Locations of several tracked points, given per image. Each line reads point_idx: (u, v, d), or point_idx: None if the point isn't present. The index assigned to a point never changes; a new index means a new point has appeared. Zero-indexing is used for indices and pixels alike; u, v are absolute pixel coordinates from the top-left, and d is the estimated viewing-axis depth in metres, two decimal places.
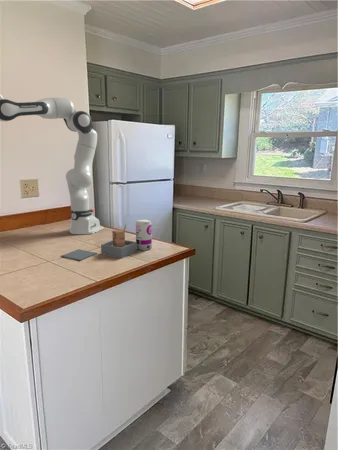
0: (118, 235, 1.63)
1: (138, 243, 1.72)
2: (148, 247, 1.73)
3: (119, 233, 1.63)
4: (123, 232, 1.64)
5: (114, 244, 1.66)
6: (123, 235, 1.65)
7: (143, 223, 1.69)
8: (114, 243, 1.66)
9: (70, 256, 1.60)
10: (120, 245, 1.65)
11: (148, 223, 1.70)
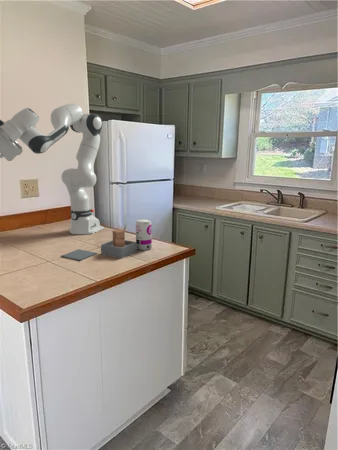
0: (118, 235, 1.63)
1: (138, 243, 1.72)
2: (148, 247, 1.73)
3: (119, 233, 1.63)
4: (123, 232, 1.64)
5: (114, 244, 1.66)
6: (123, 235, 1.65)
7: (143, 223, 1.69)
8: (114, 243, 1.66)
9: (70, 256, 1.60)
10: (120, 245, 1.65)
11: (148, 223, 1.70)
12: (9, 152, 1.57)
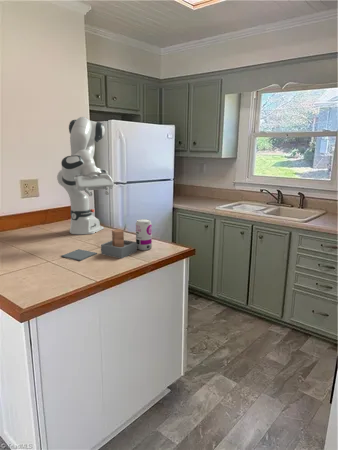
0: (117, 235, 1.63)
1: (138, 243, 1.72)
2: (148, 247, 1.73)
3: (118, 233, 1.63)
4: (122, 232, 1.64)
5: (113, 244, 1.66)
6: (122, 235, 1.65)
7: (143, 223, 1.69)
8: (113, 243, 1.66)
9: (70, 256, 1.60)
10: (119, 245, 1.65)
11: (148, 223, 1.70)
12: None
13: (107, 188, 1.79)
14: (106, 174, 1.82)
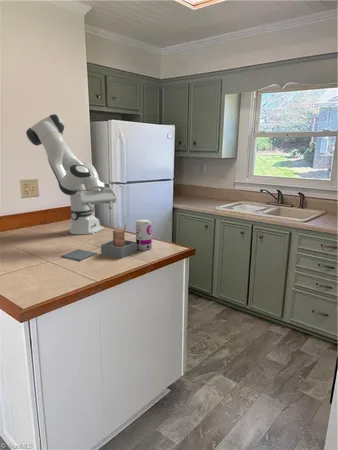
0: (118, 235, 1.63)
1: (138, 243, 1.72)
2: (148, 247, 1.73)
3: (119, 233, 1.63)
4: (123, 232, 1.64)
5: (114, 244, 1.66)
6: (123, 235, 1.65)
7: (143, 223, 1.69)
8: (114, 243, 1.66)
9: (70, 256, 1.60)
10: (119, 245, 1.65)
11: (148, 223, 1.70)
12: None
13: (110, 202, 1.77)
14: (109, 188, 1.80)
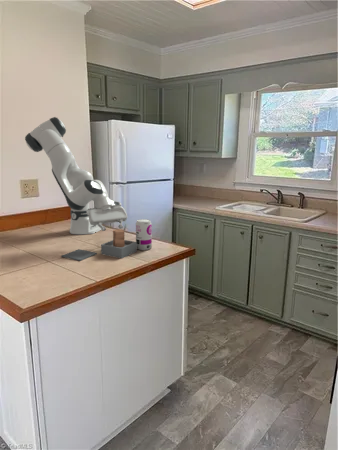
0: (117, 235, 1.63)
1: (138, 243, 1.72)
2: (148, 247, 1.73)
3: (118, 233, 1.63)
4: (123, 232, 1.64)
5: (114, 244, 1.66)
6: (123, 235, 1.64)
7: (143, 223, 1.69)
8: (114, 243, 1.66)
9: (70, 256, 1.60)
10: (119, 245, 1.65)
11: (148, 223, 1.70)
12: None
13: (121, 221, 1.73)
14: (120, 206, 1.75)
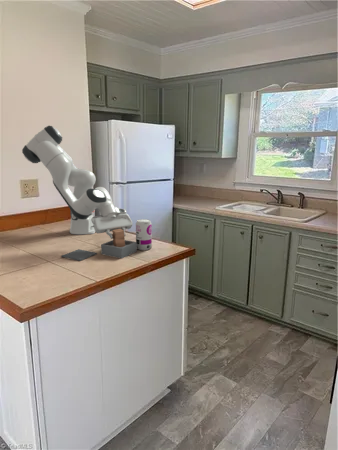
0: (117, 235, 1.63)
1: (138, 243, 1.72)
2: (148, 247, 1.73)
3: (118, 233, 1.63)
4: (122, 232, 1.64)
5: (114, 244, 1.66)
6: (123, 235, 1.64)
7: (143, 223, 1.69)
8: (114, 243, 1.66)
9: (70, 256, 1.60)
10: (120, 245, 1.65)
11: (148, 223, 1.70)
12: None
13: (123, 229, 1.70)
14: (125, 213, 1.73)
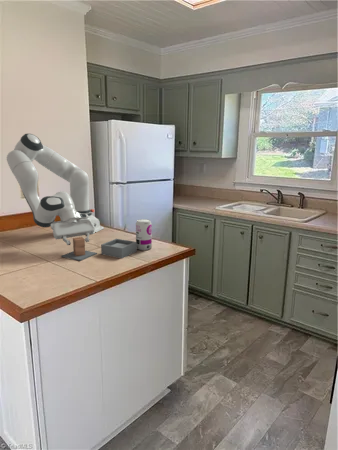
0: (77, 243, 1.59)
1: (138, 243, 1.72)
2: (148, 247, 1.73)
3: (78, 241, 1.59)
4: (83, 240, 1.61)
5: (74, 252, 1.62)
6: (83, 243, 1.61)
7: (143, 223, 1.69)
8: (74, 251, 1.62)
9: (70, 256, 1.60)
10: (80, 253, 1.61)
11: (148, 223, 1.70)
12: None
13: (87, 234, 1.67)
14: (86, 219, 1.69)
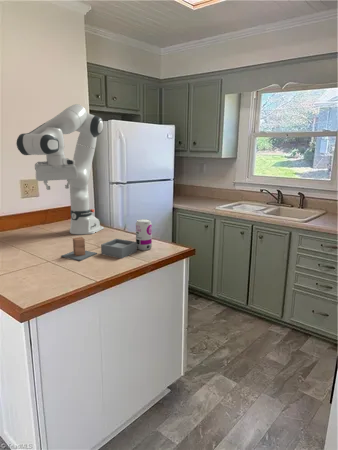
0: (77, 243, 1.59)
1: (138, 243, 1.72)
2: (148, 247, 1.73)
3: (78, 241, 1.59)
4: (83, 240, 1.61)
5: (74, 252, 1.62)
6: (83, 243, 1.61)
7: (143, 223, 1.69)
8: (74, 251, 1.62)
9: (70, 256, 1.60)
10: (80, 253, 1.61)
11: (148, 223, 1.70)
12: None
13: None
14: (72, 165, 1.68)
